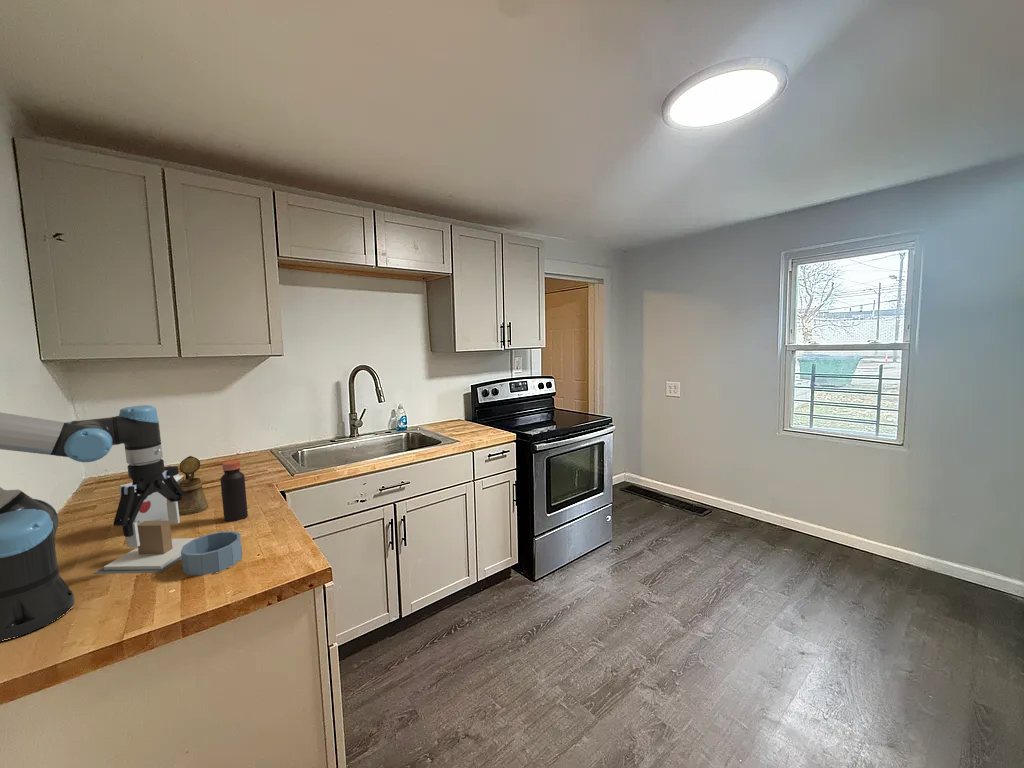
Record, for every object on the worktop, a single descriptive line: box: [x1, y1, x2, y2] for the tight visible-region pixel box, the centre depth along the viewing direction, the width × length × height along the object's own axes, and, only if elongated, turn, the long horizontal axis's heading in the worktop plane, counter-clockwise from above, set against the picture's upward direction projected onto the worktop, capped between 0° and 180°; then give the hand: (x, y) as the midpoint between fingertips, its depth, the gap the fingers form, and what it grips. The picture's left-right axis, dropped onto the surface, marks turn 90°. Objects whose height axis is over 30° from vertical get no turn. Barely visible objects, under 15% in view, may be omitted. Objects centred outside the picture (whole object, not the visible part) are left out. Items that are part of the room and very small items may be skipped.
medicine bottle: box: [164, 465, 185, 501], centre depth 160 cm, size 7×7×12 cm
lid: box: [103, 521, 197, 570], centre depth 116 cm, size 15×15×10 cm
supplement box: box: [118, 481, 169, 525], centre depth 134 cm, size 9×9×15 cm
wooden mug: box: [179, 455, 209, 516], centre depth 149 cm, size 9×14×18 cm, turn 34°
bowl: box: [181, 530, 243, 576], centre depth 112 cm, size 13×13×6 cm
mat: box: [92, 556, 182, 575], centre depth 116 cm, size 18×18×1 cm
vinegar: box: [220, 459, 249, 523], centre depth 139 cm, size 7×7×20 cm
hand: (155, 533), depth 116 cm, fingers open, 13 cm apart
